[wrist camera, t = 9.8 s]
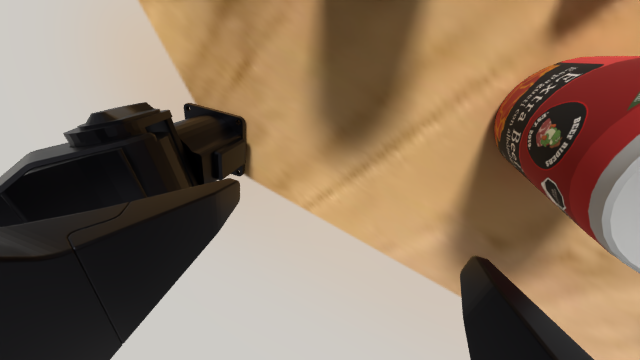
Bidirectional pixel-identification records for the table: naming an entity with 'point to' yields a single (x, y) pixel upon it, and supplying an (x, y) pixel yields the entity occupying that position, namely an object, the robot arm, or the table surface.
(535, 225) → the table surface
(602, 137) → the canned food
